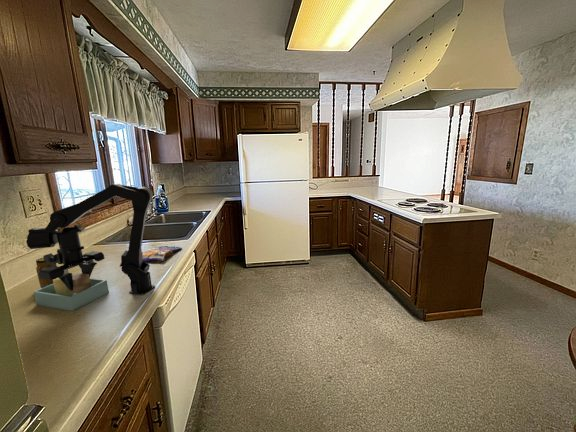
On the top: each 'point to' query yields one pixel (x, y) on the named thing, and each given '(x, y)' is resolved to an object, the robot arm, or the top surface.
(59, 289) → the yellow teardrop shape
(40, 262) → the condiment
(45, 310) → the top surface
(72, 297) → the tote
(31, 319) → the top surface
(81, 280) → the walnut cube
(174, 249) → the food package
